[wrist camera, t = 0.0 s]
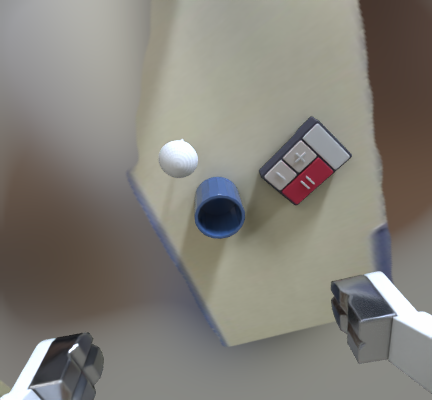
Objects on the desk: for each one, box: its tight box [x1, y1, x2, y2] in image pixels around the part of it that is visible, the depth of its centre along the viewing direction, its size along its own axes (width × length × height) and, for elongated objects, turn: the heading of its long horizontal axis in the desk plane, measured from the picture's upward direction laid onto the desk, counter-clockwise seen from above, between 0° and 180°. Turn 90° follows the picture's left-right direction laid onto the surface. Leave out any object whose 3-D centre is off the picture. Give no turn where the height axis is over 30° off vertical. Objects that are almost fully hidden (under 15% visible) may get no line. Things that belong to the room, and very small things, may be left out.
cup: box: [195, 177, 245, 239], centre depth 57 cm, size 10×10×9 cm
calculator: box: [259, 117, 352, 205], centre depth 56 cm, size 11×4×15 cm
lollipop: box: [159, 139, 198, 178], centre depth 48 cm, size 6×6×15 cm
